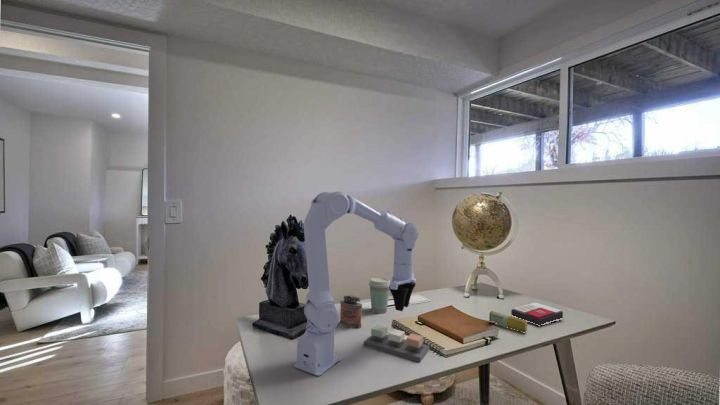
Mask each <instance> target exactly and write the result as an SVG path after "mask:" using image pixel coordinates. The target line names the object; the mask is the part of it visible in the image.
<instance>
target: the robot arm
mask: <svg viewBox="0 0 720 405" xmlns="http://www.w3.org/2000/svg"><path fill="white" fill-rule="evenodd" d="M310 202H311V203H310V207H309V210H308V212H307V214H306V217H305V219H304V221H303V234H304V235H303V236H304V245H305V258H306V268H307V280H308V292H307V294H306V295H305V296H306V301H305V304H304V308H303V312H304V316H305V318H306V319H307V322H306V327H305V328H306V329H305V332H304V333H303V335H302V336H300V337H299V338H298V341H297V344H296V348H297V349H296V363H294V365H293V366H294V368H296V369H299V370H301V371H304V372H307V373H309V374H311V375H314V376H316V377H320V376H321V375H323V374H324V373H325V372H326V371H328V370H330V369H331V367H333V366H334V365H335V364H337V363H338V362H339V361H340V360H341V357H340V356H337V355H335V329H336V327H338V324H339V323H340V314H339V313H340V312H339V311H338V310H337V308H336V303H335V299H334V298H333V295H332V293H331V288H330V278H329V277H330V276H329V267H328V265H329V262H328V254H327V253H328V252H327V239H326V230H327V229H328V227H330V225H331V224H333V222H334V221H336V220H338V219H340V218H341V217H343V216H345V215H346V214H353V215H356V216H358V217H360V218H362V219H365V220H367V221H368V222H371V223H373V226H374V229H376V230H378V231H380V232H381V233H383V234H385V235H387V236H390V237H391V238H392V239H393V240H394V245H393V248H394V249H393V272H392V273H393V275H392V278H391V280H390V285H389V290H390V291H389V292H390V293H391V296H392V298H393V299H392V300H393V303H394V308H395V311H400V312H403V311H404V310H405V309H404V308H408V307H409V304H410V301H411V297H412V293H413V291H414V289H415V287H416V286H417V284H416V282H417V278H415V273H414V271H413V270H414V249H415V247H416V241H417V239H418V237H419V232H418V230H417V227H416V226H415V225H414V224H413V223H410V222H405V219H404V218H403V217H402V218H401V217H397V216H395V215H394V214H393V212H392V211H390V210H382V211H379V212H378V211H377V210H375V209H374V208H372V207H370V206H368V205H367V204H365V203H363V202H362V201H360V200H358V199H356V198H355V197H354V196H352V195H349V194H346V193H344V192H342V191H334V192H328V191H324V192H320V193H319V194H317V195H316V196H315V197H314V198H313V199H312V200H311V201H310Z"/></svg>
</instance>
